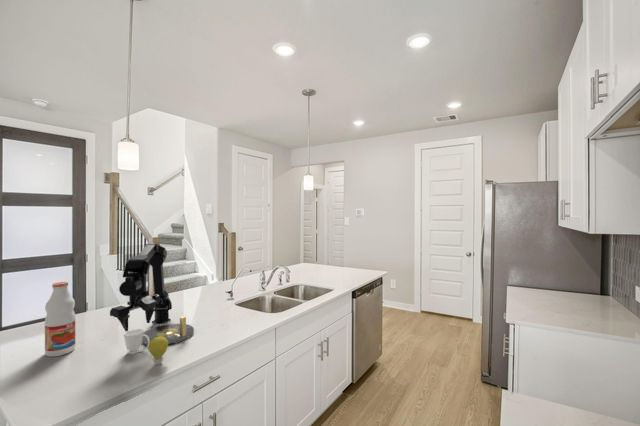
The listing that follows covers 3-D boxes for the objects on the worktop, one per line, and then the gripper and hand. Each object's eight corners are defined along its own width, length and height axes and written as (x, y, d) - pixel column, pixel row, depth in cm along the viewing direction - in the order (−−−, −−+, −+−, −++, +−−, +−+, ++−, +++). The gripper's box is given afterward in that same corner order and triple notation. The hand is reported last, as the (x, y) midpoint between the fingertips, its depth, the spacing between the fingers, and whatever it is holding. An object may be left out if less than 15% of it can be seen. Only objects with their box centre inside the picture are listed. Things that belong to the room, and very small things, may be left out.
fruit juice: (65, 345, 128) (65, 279, 127) (81, 348, 125) (81, 281, 124) (38, 355, 119) (38, 284, 118) (55, 359, 116) (55, 286, 116)
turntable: (128, 339, 132) (128, 318, 132) (171, 322, 152) (171, 304, 152) (163, 349, 123) (163, 326, 123) (204, 330, 144) (204, 310, 144)
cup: (131, 347, 126) (131, 328, 126) (154, 348, 126) (154, 329, 126) (119, 355, 119) (119, 335, 119) (143, 356, 119) (143, 336, 119)
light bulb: (172, 360, 115) (172, 334, 115) (157, 369, 109) (157, 342, 109) (159, 357, 118) (159, 332, 117) (143, 366, 111) (144, 339, 111)
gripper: (128, 297, 110) (128, 339, 111) (171, 285, 128) (171, 322, 128) (109, 294, 115) (109, 334, 115) (153, 283, 132) (153, 318, 132)
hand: (137, 327), depth 122 cm, fingers open, 9 cm apart
